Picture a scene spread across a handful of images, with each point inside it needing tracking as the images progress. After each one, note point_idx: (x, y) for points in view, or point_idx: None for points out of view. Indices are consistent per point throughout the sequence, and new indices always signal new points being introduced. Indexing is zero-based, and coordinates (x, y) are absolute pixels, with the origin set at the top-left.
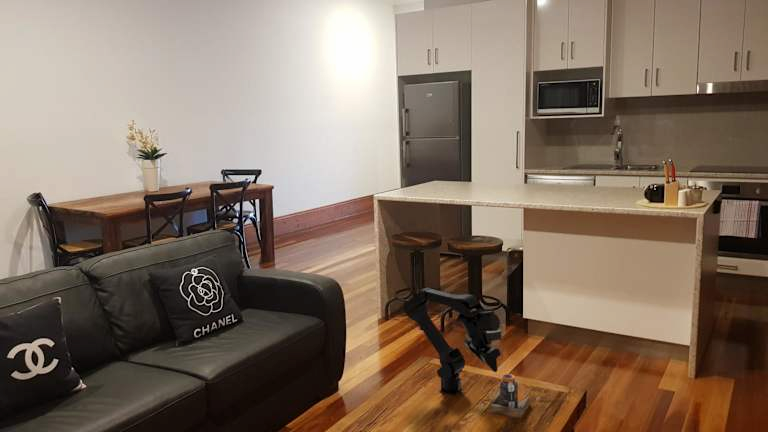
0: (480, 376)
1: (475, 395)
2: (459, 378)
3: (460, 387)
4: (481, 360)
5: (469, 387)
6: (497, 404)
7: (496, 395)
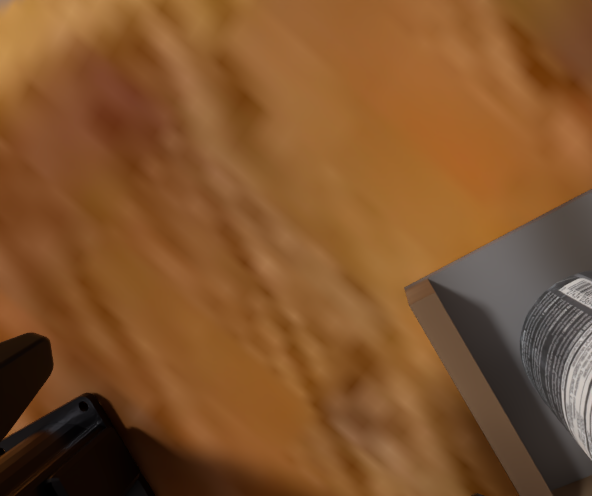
0: (9, 140)
1: (245, 392)
2: (53, 493)
3: (111, 442)
4: (3, 433)
5: (116, 338)
6: (495, 387)
7: (469, 390)
